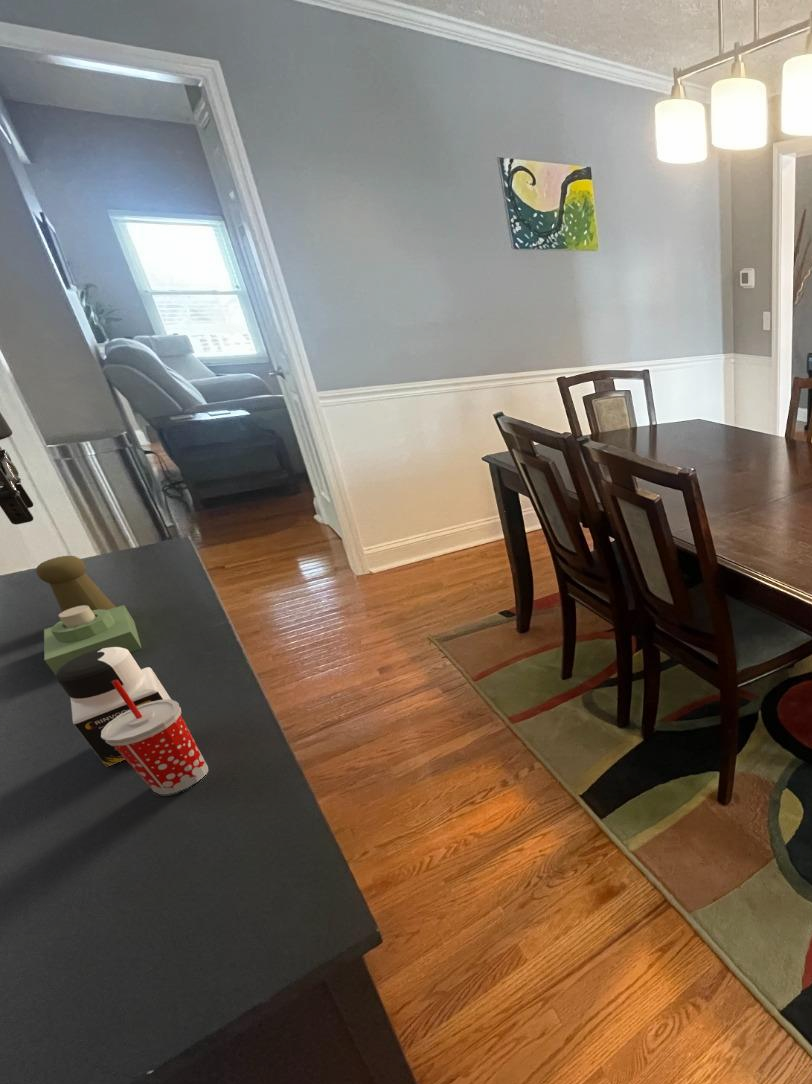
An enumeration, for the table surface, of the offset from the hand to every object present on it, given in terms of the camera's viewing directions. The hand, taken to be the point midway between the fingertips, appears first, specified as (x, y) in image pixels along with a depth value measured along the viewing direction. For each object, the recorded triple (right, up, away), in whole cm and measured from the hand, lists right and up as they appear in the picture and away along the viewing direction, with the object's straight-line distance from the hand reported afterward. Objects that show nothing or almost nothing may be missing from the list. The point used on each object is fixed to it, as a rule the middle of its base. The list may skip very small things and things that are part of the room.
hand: (24, 515), depth 90 cm
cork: (+1, -17, +9) cm, 19 cm away
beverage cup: (+47, -32, -24) cm, 61 cm away
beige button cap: (+10, -16, -1) cm, 19 cm away
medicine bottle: (+36, -29, -17) cm, 49 cm away
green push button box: (+11, -20, +1) cm, 23 cm away
